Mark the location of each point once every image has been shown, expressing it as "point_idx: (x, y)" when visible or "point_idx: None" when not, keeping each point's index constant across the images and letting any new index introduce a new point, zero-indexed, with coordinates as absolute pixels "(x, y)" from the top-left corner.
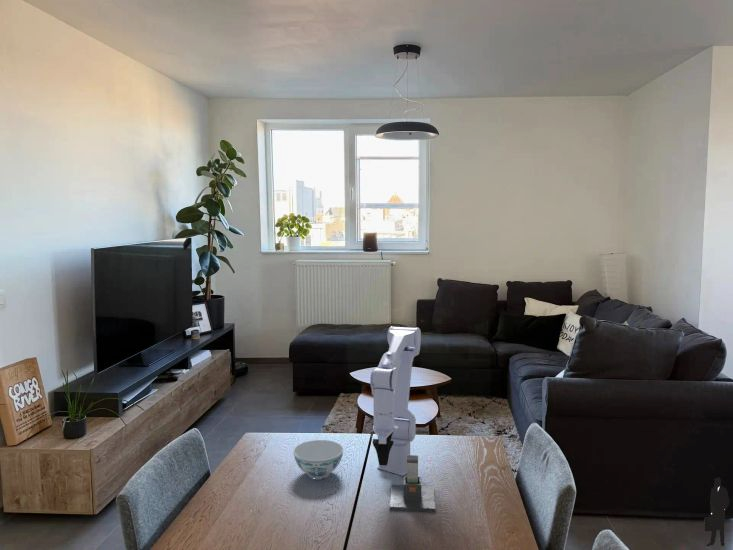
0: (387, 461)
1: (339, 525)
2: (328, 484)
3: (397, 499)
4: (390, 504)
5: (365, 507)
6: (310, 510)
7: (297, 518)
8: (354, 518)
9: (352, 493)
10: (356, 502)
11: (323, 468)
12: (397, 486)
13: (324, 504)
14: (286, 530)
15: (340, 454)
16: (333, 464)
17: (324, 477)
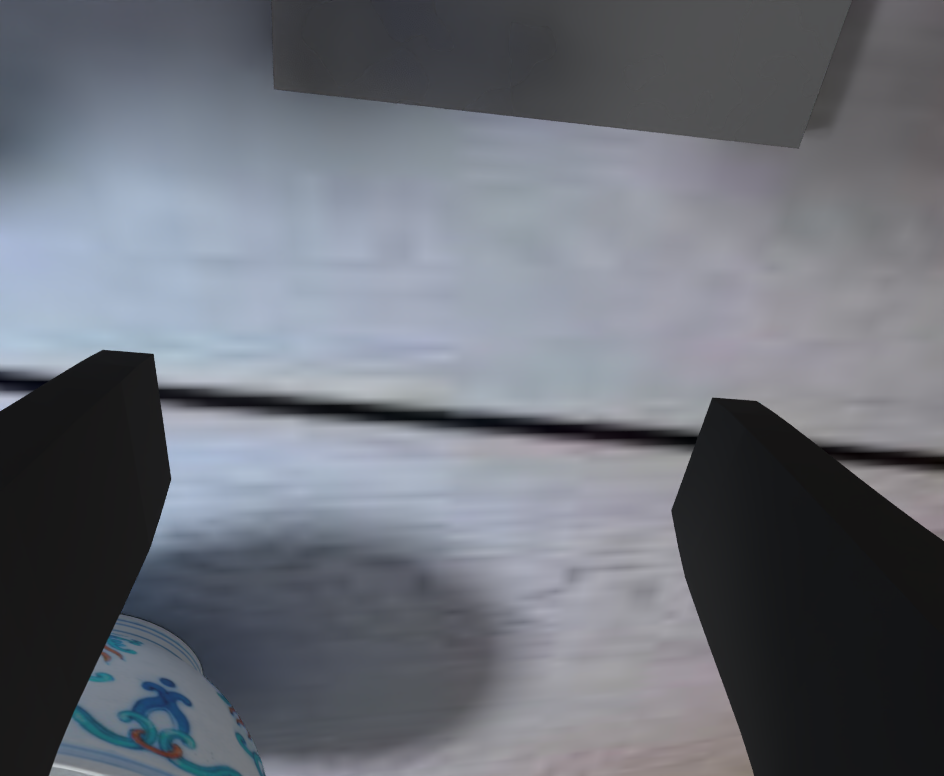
0: (809, 446)
1: None
2: (270, 607)
3: (658, 37)
4: (750, 135)
5: (669, 358)
6: (636, 666)
7: (714, 707)
8: (819, 435)
9: (413, 455)
10: (571, 425)
11: (253, 760)
12: (314, 5)
13: (572, 610)
14: None
15: (68, 761)
16: (186, 726)
17: (174, 642)
